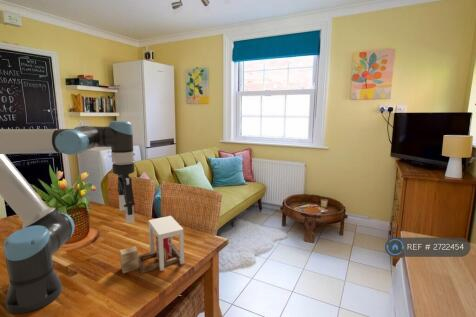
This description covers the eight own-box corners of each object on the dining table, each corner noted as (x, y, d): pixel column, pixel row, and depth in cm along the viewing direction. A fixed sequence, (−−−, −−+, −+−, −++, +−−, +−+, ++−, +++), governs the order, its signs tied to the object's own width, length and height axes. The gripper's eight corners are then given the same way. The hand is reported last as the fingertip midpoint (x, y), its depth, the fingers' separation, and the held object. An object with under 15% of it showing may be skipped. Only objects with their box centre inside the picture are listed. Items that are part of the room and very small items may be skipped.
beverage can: (167, 263, 110) (166, 236, 107) (154, 261, 111) (152, 235, 109) (174, 255, 116) (173, 230, 113) (161, 253, 117) (160, 228, 115)
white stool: (160, 270, 104) (158, 234, 102) (150, 252, 118) (148, 220, 115) (184, 263, 110) (183, 229, 107) (171, 246, 123) (170, 215, 120)
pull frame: (124, 278, 100) (123, 259, 98) (119, 263, 109) (118, 246, 107) (182, 260, 112) (181, 243, 110) (173, 248, 121) (173, 232, 119)
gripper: (141, 168, 90) (144, 225, 93) (127, 156, 110) (130, 204, 114) (117, 170, 86) (122, 230, 89) (107, 158, 106) (111, 207, 110)
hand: (126, 216), depth 102 cm, fingers open, 13 cm apart
